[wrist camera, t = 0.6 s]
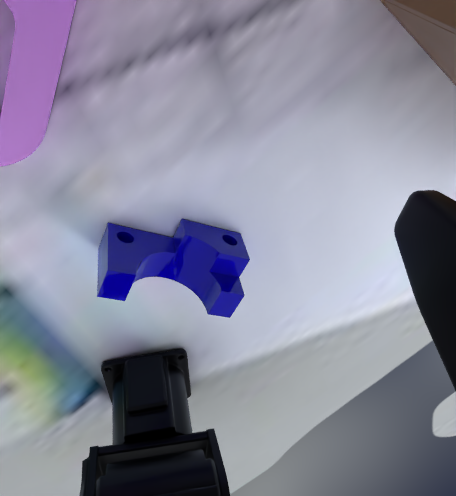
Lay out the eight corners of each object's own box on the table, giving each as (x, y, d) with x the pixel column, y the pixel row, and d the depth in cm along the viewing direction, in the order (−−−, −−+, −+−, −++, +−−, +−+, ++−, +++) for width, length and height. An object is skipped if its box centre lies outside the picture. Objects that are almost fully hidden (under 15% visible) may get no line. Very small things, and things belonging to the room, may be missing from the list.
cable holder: (240, 233, 28) (256, 277, 25) (217, 272, 30) (229, 317, 27) (115, 201, 24) (116, 248, 21) (98, 248, 26) (97, 296, 23)
